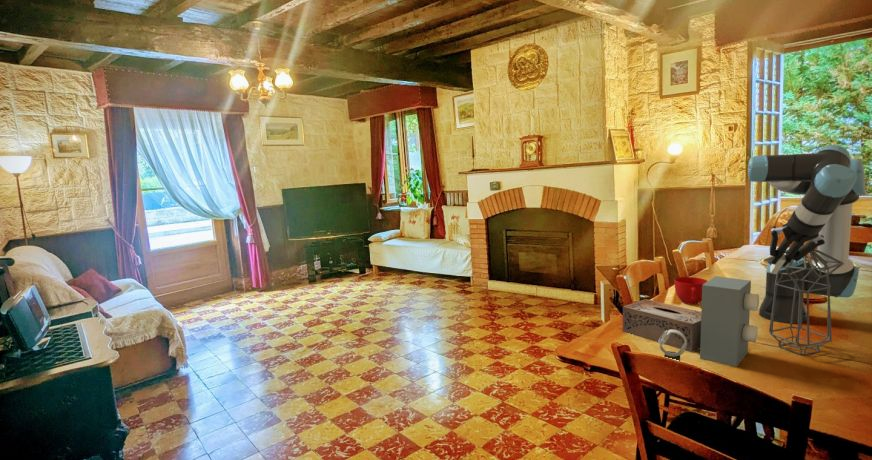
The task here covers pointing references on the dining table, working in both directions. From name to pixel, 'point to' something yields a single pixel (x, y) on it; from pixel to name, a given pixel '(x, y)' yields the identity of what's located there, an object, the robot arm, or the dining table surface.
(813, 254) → the geometric lantern
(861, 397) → the dining table surface
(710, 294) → the knob mount
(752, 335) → the lower knob
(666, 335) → the watch
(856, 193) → the robot arm
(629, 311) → the tissue box cover
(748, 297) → the upper knob
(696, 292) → the ceramic cup
